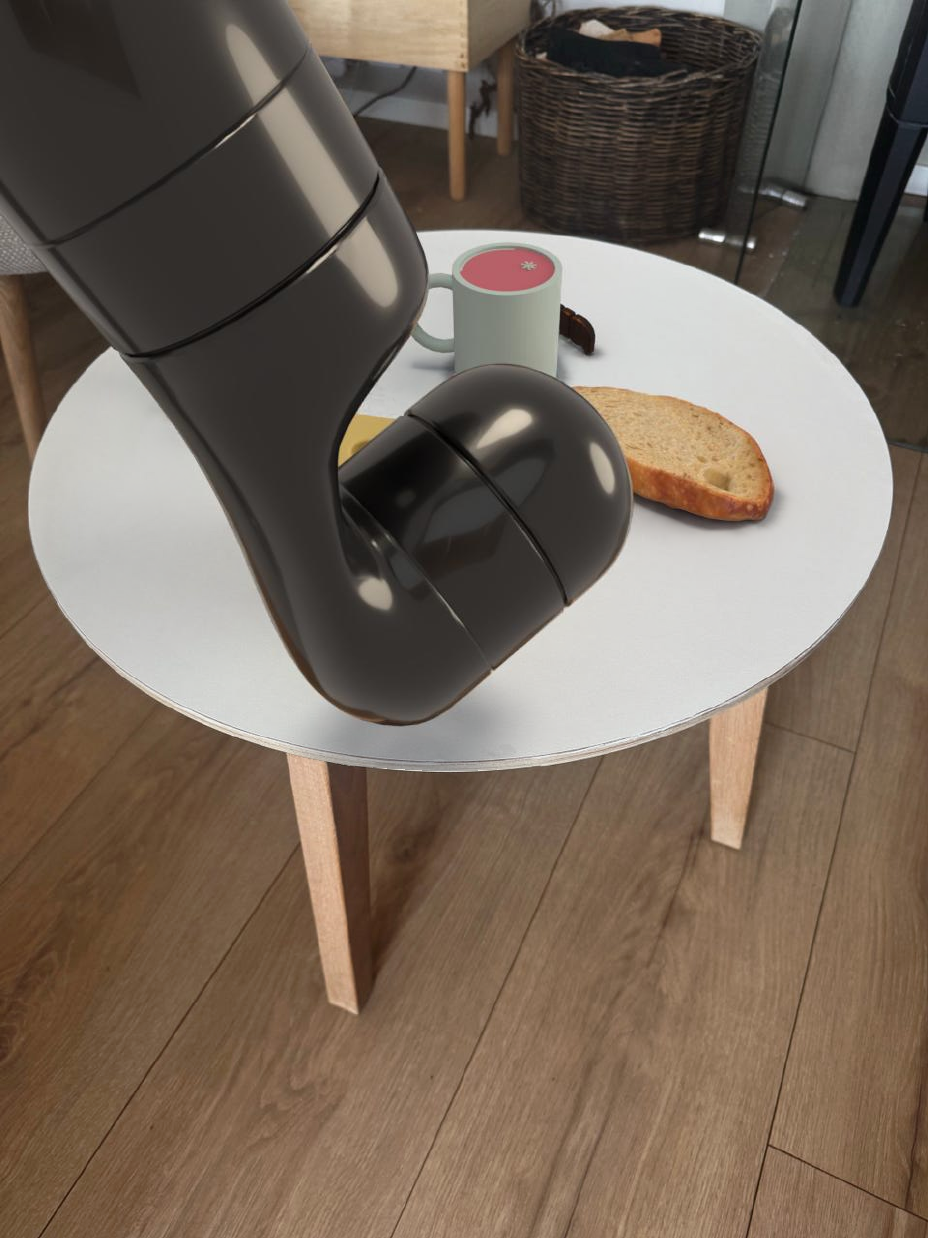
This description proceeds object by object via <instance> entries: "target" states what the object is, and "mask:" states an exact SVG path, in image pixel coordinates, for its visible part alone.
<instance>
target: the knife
mask: <svg viewBox="0 0 928 1238" xmlns="http://www.w3.org/2000/svg"><path fill="white" fill-rule="evenodd" d="M559 335H561V336H562V337H563V338H565V339H566V340H570V341H571V342H572V343H573V344H575V345H577V346H579V347H580V348H581V349H582V350H583V352H584V354H585V356H588V355H591V354H593V353H594V352H595V346H596V332H595V329H594V326H593V324H592V323H591V322H590V321H589V319H587V318H586V317H584V316H582V315H581V314H579V313H576V311H574V310H573V309H571V308H569V307H566V306H565V305H564V304H562V303H561V302H560V318H559Z"/></svg>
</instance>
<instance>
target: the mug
mask: <svg viewBox="0 0 928 1238" xmlns="http://www.w3.org/2000/svg"><path fill="white" fill-rule="evenodd" d="M562 281H563V264H562V262H561V260H560V259H559V258H558V257H557V255H555V254H554V253H552V252H551V251H549V250H547V249H545V248H543V247H540V246H537V245H533V244H529V243H522V242H514V241H513V242H512V241H511V242H509V241H507V242H504V241H503V242H493V243H487V244H481V245H477V246H475V247H472V248H470V249H468V250H466V251H464V252H462V253H461V254H460V255H458V256H457V257H456V258H455V260H454V261H453V262H452V266H451V274H450V273H444V272H436V273H429V290H431V289H435V288H436V289H438V288H441V289H447V290H450V291H452V318H453V319H452V320H453V321H452V322H453V337H452V338H447V339H443V338H437V337H435V336H433V335H430V334H429V333H428V332H426V331H425V330H424V329H423V328H422V327H421V325H420V324H419V322H418V323H417V325H416V326H415V328H414V330H413V332H412V334H411V335H410V337H412V339H413V340H414V341H415V342H416V343H417V344H419V345H420V346H421V347H422V348H425V349H426V350H429V351H431V352H435V353H441V354H449V353H453V355H454V357H453V359H454V374H456V373H459V372H461V371H463V370H465V369H468V368H471V367H475V366H478V365H485V364H494V363H510V364H517V365H523V366H527V367H531V368H534V369H537V370H540V371H542V372H545V373H547V374H549V375H551V376H553V377H555V378H557V369H558V368H557V367H558V355H559V354H558V353H559V352H558V351H559V335H560V333H559V318H560V303H561V299H562V298H561V297H562Z"/></svg>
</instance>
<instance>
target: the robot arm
mask: <svg viewBox="0 0 928 1238" xmlns="http://www.w3.org/2000/svg"><path fill="white" fill-rule="evenodd" d="M0 216H1V217H2V219H3V220H4V221H5V222H6V223H7V224H8V225H9V227H10V228H11V230H13V232H14V233H15V234H16V235H17V237H18V238H19V239H20V240H21V242H23V243H24V244H25V245H26V246H27V248H28V250H29V251H30V252H31V253H32V254H33V255H34V257H35V258H36V259H37V260H38V261H39V263H40V264H41V265H42V266H43V268H44V269H45V270H46V271H47V272H48V273H49V274H50V276H51V277H52V278H53V279H54V281H55V282H56V283H57V284H58V285H59V286H60V288H61V289H62V290H63V291H64V292H65V293H66V295H67V296H68V297H69V298H70V300H71V301H72V302H73V303H74V304H75V305H76V306H77V308H78V309H79V311H80V312H82V314H83V315H84V316H85V317H86V319H88V321H89V322H90V323H91V325H93V326H94V327H95V329H96V330H97V331H98V333H99V334H100V335H101V336H102V337H103V338H104V340H105V341H106V342H107V343H108V344H109V346H110V347H111V348H112V349H113V350H114V351H117V352H118V354H119V357H120V359H121V360H123V362H124V363H125V364H126V366H127V367H128V368H129V369H130V370H131V372H132V373H133V374H134V375H135V377H137V379H138V380H139V382H141V384H142V385H143V386H144V388H145V389H146V391H147V392H148V393H149V395H150V396H151V398H152V399H153V400H154V402H155V403H156V404H157V405H158V407H159V408H160V409H161V410H162V412H163V413H164V415H165V416H166V417H167V418H168V420H169V421H170V423H171V424H172V426H173V427H174V429H175V430H176V431H177V433H178V435H179V436H180V437H181V439H182V441H183V442H184V443H185V445H186V447H187V449H188V450H189V451H190V453H191V454H192V456H193V457H194V460H195V461H196V462H197V464H198V466H199V468H200V470H201V472H202V473H203V476H204V477H205V479H206V481H207V483H208V485H209V486H210V488H211V490H212V492H213V494H214V496H215V498H216V500H217V501H218V503H219V505H220V507H221V509H222V511H223V514H224V516H225V518H226V520H227V522H228V524H229V526H230V528H231V531H232V533H233V535H234V537H235V539H236V542H237V544H238V546H239V549H240V551H241V554H242V556H243V558H244V561H245V563H246V566H247V568H248V571H249V573H250V576H251V578H252V581H253V583H254V585H255V587H256V590H257V593H258V594H259V598H260V599H261V602H262V604H263V605H264V608H265V611H266V613H267V615H268V618H269V620H270V622H271V624H272V626H273V628H274V630H275V631H276V633H277V636H278V638H279V639H280V641H281V643H282V645H283V648H284V649H285V650H286V653H287V654H288V656H289V658H290V659H291V661H292V663H293V664H294V665H295V667H296V668H297V670H298V671H299V673H300V674H301V676H303V678H304V679H305V680H306V682H307V683H308V684H309V685H310V687H312V688H313V690H314V691H316V692H317V694H319V696H321V697H322V698H323V699H324V700H326V702H328V703H330V705H332V706H334V707H335V708H337V709H338V710H340V711H341V712H343V713H345V714H347V715H349V716H350V717H353V718H356V719H358V720H360V721H363V722H367V723H371V724H375V725H379V726H384V727H385V726H387V727H399V728H400V727H408V726H418V725H421V724H425V723H427V722H429V721H432V720H434V719H435V718H438V717H439V716H441V715H442V714H444V713H446V712H448V711H449V710H451V709H452V708H453V707H454V706H456V705H457V704H458V703H459V702H461V701H462V700H463V699H464V698H465V697H466V696H468V695H469V694H470V693H472V692H473V691H474V690H475V689H476V688H477V687H478V686H480V685H481V684H482V683H483V682H484V681H485V680H486V679H488V678H489V677H490V676H491V675H492V674H493V672H495V671H496V670H498V668H500V667H501V666H502V665H503V664H504V663H506V662H507V661H508V660H509V659H510V658H512V656H514V655H515V654H516V653H518V652H519V651H520V650H521V649H522V648H523V647H524V646H525V645H526V644H527V643H529V642H530V641H531V640H532V639H534V638H535V637H536V636H538V635H539V634H540V633H541V632H542V631H543V630H544V629H545V628H547V626H549V625H550V624H551V623H552V622H553V621H555V620H556V619H557V618H558V617H559V616H560V615H561V614H563V613H564V610H565V609H568V608H570V607H571V606H572V605H573V604H575V603H576V602H577V601H578V600H579V599H580V598H581V597H583V595H585V594H586V593H587V592H588V591H589V590H590V589H591V588H593V587H594V586H595V585H596V584H597V583H598V582H599V581H600V580H601V579H602V578H603V577H605V575H606V574H607V573H608V572H609V571H610V569H611V568H613V566H614V564H615V563H616V562H617V560H618V559H619V557H620V556H621V554H622V552H623V550H624V548H625V546H626V543H627V540H628V538H629V534H630V533H631V528H632V523H633V517H634V506H635V505H634V504H635V503H634V494H635V493H634V492H633V485H632V479H631V474H630V470H629V467H628V464H627V461H626V458H625V455H624V453H623V450H622V448H621V446H620V444H619V442H618V439H617V437H616V436H615V434H614V432H613V431H612V429H611V427H610V426H609V424H608V423H607V422H606V420H605V419H604V418H603V416H602V415H601V414H600V413H599V412H598V411H597V409H596V408H595V407H594V406H593V405H592V404H591V403H590V402H589V401H588V400H587V399H586V398H585V397H584V396H582V395H581V394H580V393H578V392H577V391H576V390H574V389H573V388H571V387H572V386H570V385H568V384H567V383H565V382H564V381H562V380H560V379H559V378H557V377H556V378H555V377H553V376H551V375H549V374H547V373H545V372H542V371H540V370H537V369H534V368H531V367H527V366H523V365H517V364H510V363H494V364H485V365H478V366H475V367H471V368H468V369H465V370H463V371H461V372H459V373H456V374H455V373H454V374H453V375H451V376H449V377H448V378H446V379H445V380H443V381H442V382H440V383H439V384H437V386H434V388H432V389H431V390H429V391H428V392H427V393H426V394H425V395H424V396H422V397H421V398H420V399H418V400H417V401H415V402H414V404H412V405H411V406H410V407H409V408H407V409H406V410H405V411H404V413H403V415H399V416H398V417H397V418H394V419H395V420H394V421H393V422H392V423H391V424H389V425H388V426H387V427H386V428H385V429H383V430H382V431H381V432H380V433H379V434H377V435H376V436H375V437H374V438H372V439H371V440H370V441H369V442H368V443H366V444H365V445H364V446H363V447H362V448H360V449H359V450H358V451H357V452H356V453H354V454H353V455H352V456H351V457H349V458H348V459H347V460H346V461H345V462H343V463H342V464H341V465H340V466H339V467H338V460H339V451H340V446H341V443H342V441H343V439H344V436H345V434H346V432H347V430H348V427H349V425H350V423H351V421H352V419H353V418H354V416H355V414H358V411H359V409H360V408H361V406H362V404H363V403H364V401H365V400H366V399H367V397H368V396H369V394H370V393H371V392H372V390H373V389H374V387H375V386H376V385H377V384H378V382H379V381H380V379H381V378H382V376H384V374H385V372H386V371H387V370H388V369H389V367H390V366H391V365H392V364H393V362H394V361H395V359H396V358H397V357H398V355H399V354H400V353H401V351H402V349H403V348H404V347H405V345H406V343H407V342H408V340H409V339H410V337H411V334H412V332H413V330H414V328H415V326H416V325H417V323H418V324H419V321H420V319H421V317H422V316H423V313H424V310H425V307H426V304H427V301H428V297H429V292H430V289H429V274H430V269H429V263H428V260H427V256H426V253H425V249H424V248H423V247H424V246H423V245H422V243H421V241H420V238H419V236H418V232H417V231H416V228H415V225H414V224H413V222H412V221H411V219H410V217H409V215H408V213H407V211H406V209H405V207H404V205H403V204H402V202H401V200H400V198H399V196H398V195H397V193H396V191H395V190H394V187H393V185H392V184H391V183H390V181H389V179H388V177H387V175H386V174H385V172H384V170H383V169H382V168H381V167H380V166H379V163H378V159H377V157H376V156H375V154H374V151H373V150H372V148H371V146H370V145H369V143H368V141H367V140H366V138H365V136H364V134H363V132H362V131H361V129H360V127H359V125H358V124H357V121H356V120H355V118H354V117H353V115H352V112H351V111H350V109H349V108H348V106H347V104H346V103H345V100H344V99H343V97H342V95H341V93H340V92H339V90H338V88H337V86H336V84H335V83H334V80H333V79H332V77H331V75H330V74H329V72H328V70H327V69H326V67H325V65H324V63H323V61H322V59H321V57H320V56H319V54H318V52H317V51H316V49H315V47H314V45H313V44H312V42H310V39H309V37H308V35H307V33H306V32H305V30H304V28H303V27H302V24H301V23H300V21H299V20H298V17H297V16H296V14H295V12H294V11H293V9H292V7H291V6H290V5H289V2H288V0H0Z"/></svg>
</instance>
